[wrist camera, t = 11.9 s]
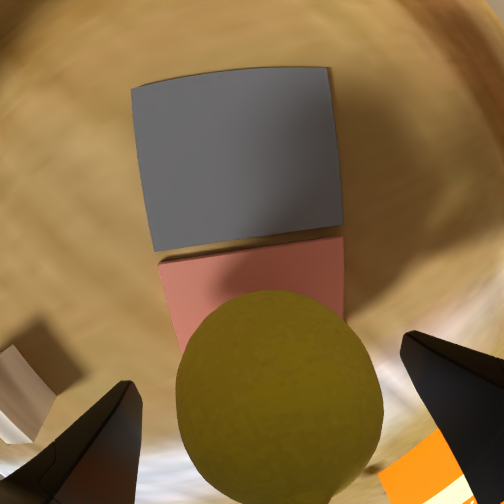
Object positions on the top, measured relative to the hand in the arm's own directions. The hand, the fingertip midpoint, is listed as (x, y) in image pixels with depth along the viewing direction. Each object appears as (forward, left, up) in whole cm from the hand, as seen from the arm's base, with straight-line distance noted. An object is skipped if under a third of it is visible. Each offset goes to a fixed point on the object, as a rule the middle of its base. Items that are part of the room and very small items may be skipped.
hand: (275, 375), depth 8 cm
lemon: (0, 0, -3) cm, 3 cm away
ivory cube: (-15, -3, -4) cm, 16 cm away
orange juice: (+15, -21, -4) cm, 26 cm away
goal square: (0, 0, -4) cm, 4 cm away
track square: (0, +6, -4) cm, 7 cm away
